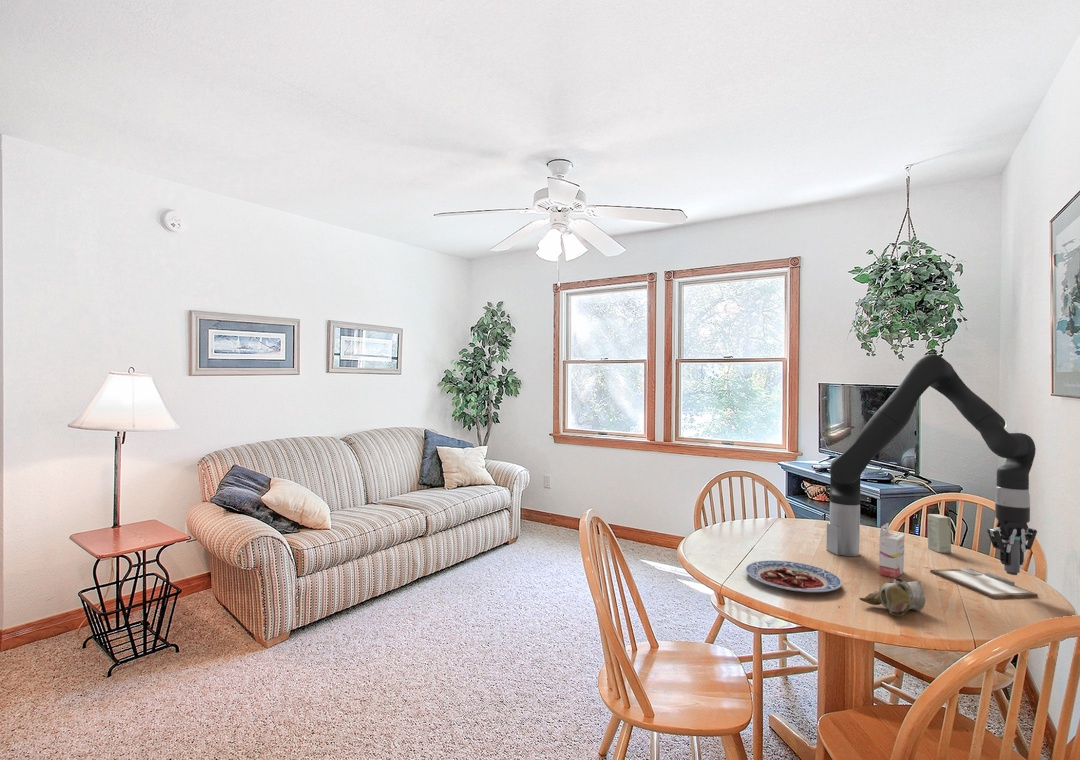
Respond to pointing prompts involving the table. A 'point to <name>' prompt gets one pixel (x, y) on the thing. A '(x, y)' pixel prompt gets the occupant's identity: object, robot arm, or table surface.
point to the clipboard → (984, 583)
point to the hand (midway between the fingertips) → (1012, 564)
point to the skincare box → (939, 533)
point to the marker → (1014, 558)
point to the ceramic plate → (793, 576)
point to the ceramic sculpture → (898, 596)
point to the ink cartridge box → (891, 553)
